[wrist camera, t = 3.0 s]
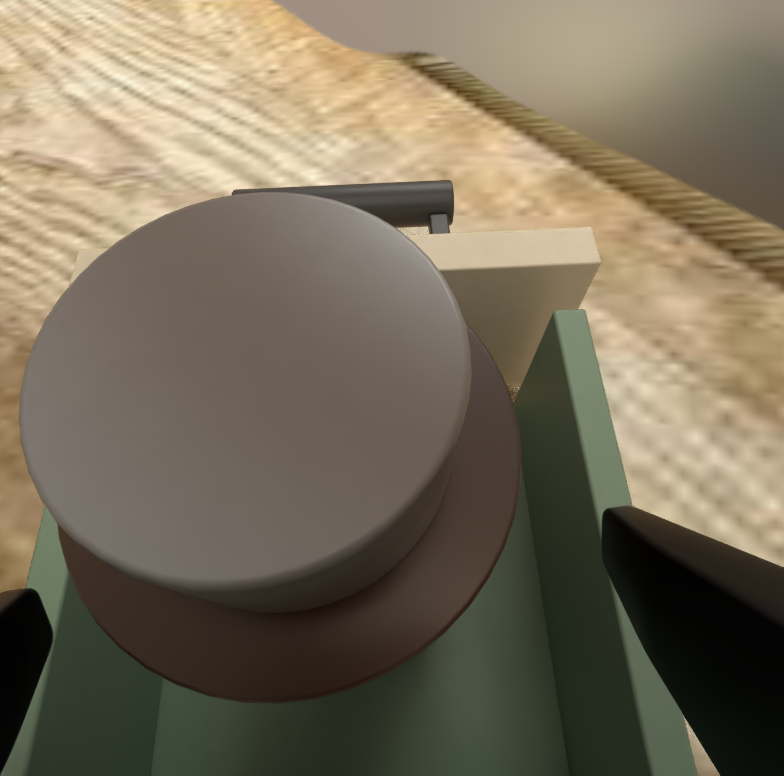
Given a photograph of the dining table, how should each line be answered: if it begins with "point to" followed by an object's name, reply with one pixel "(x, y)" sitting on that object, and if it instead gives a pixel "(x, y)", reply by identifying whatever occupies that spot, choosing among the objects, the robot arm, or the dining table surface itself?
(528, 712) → the drawer
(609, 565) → the robot arm
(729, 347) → the dining table surface
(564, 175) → the dining table surface
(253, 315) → the pepper mill
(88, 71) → the dining table surface
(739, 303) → the dining table surface
